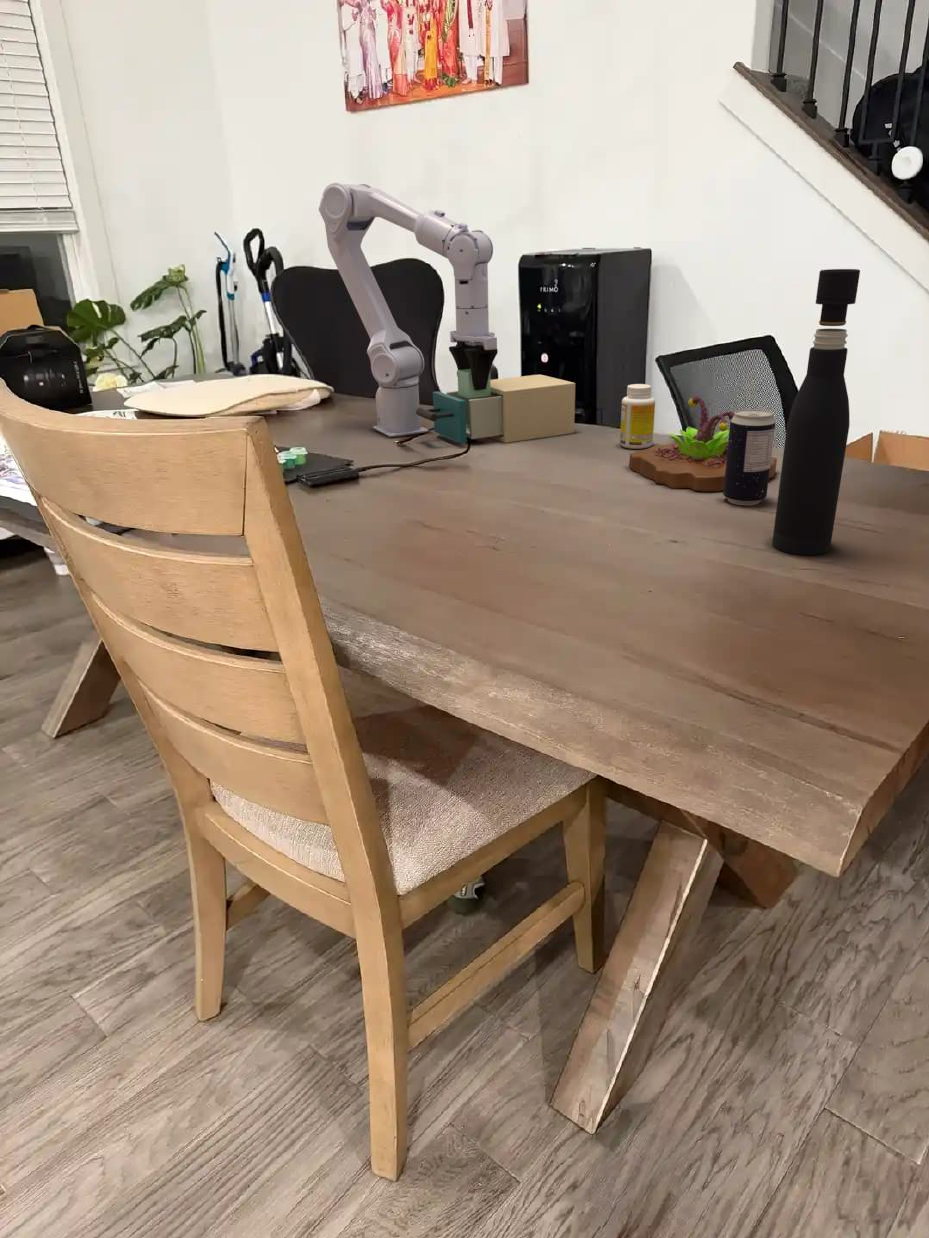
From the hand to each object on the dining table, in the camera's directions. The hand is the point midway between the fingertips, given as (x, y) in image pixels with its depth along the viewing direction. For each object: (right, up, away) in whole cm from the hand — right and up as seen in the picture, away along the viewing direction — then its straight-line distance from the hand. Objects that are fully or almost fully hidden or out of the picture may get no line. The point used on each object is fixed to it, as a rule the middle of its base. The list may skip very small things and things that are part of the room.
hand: (474, 387), depth 152 cm
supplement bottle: (+28, -12, -5) cm, 31 cm away
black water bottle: (+38, -33, -53) cm, 73 cm away
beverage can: (+37, -26, -36) cm, 57 cm away
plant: (+35, -19, -22) cm, 45 cm away
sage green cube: (0, -1, +1) cm, 1 cm away
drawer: (-1, -8, +3) cm, 8 cm away
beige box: (+9, -6, +8) cm, 14 cm away
